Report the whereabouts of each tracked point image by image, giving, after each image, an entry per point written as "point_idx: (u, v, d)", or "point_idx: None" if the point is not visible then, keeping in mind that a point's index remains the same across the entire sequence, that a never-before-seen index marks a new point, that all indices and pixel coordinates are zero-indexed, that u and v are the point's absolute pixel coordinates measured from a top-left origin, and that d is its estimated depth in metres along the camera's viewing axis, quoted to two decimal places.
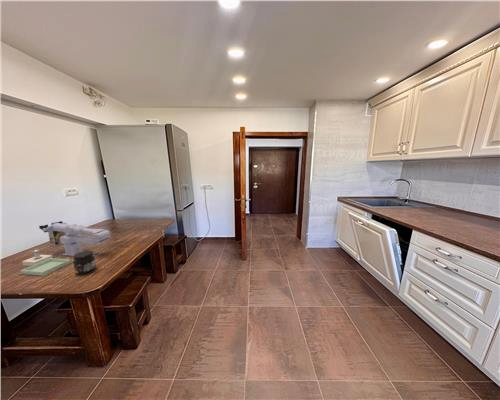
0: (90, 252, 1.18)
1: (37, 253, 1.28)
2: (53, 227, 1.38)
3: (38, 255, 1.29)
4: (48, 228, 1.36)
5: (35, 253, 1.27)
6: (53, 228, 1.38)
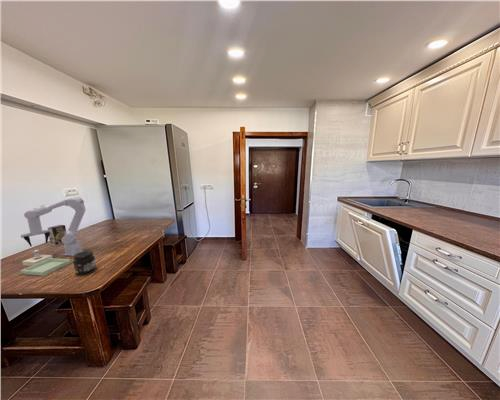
0: (90, 252, 1.18)
1: (37, 253, 1.28)
2: (30, 231, 1.31)
3: (38, 255, 1.29)
4: None
5: (35, 253, 1.27)
6: (30, 232, 1.30)
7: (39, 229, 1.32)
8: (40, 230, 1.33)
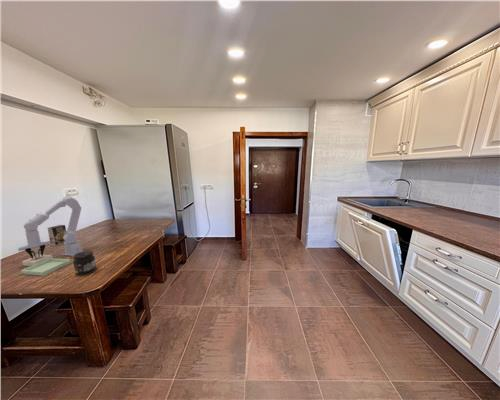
0: (90, 252, 1.18)
1: (37, 253, 1.28)
2: (28, 244, 1.25)
3: (38, 255, 1.29)
4: (23, 247, 1.24)
5: (35, 253, 1.27)
6: (28, 244, 1.25)
7: (37, 241, 1.27)
8: (38, 242, 1.27)
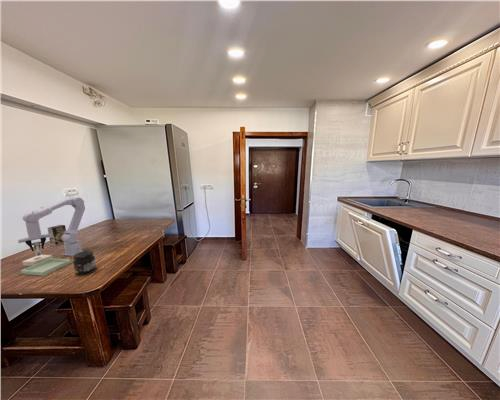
0: (90, 252, 1.18)
1: (37, 246, 1.25)
2: None
3: (38, 248, 1.25)
4: None
5: (36, 246, 1.24)
6: (28, 236, 1.22)
7: (38, 233, 1.23)
8: (39, 234, 1.24)
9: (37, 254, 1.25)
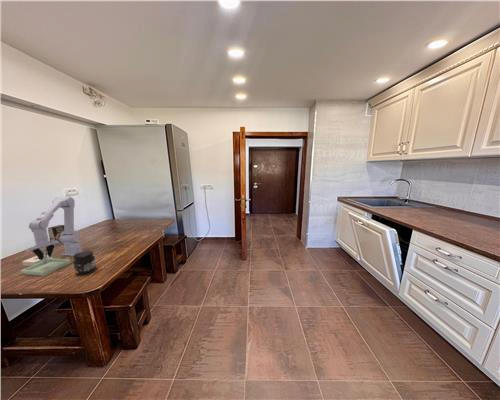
0: (90, 252, 1.18)
1: (45, 254, 1.20)
2: (36, 244, 1.16)
3: (46, 256, 1.21)
4: None
5: (44, 254, 1.19)
6: (36, 244, 1.16)
7: (47, 241, 1.19)
8: (48, 242, 1.20)
9: (44, 262, 1.20)
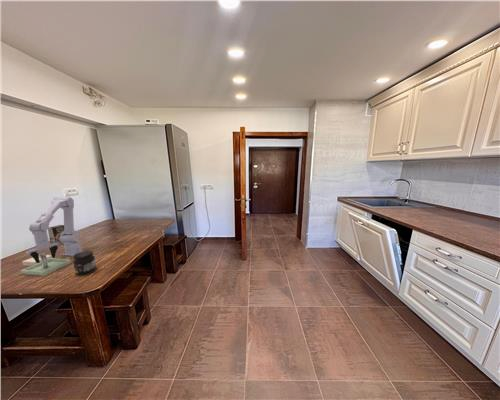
0: (90, 252, 1.18)
1: (45, 257, 1.21)
2: (36, 246, 1.17)
3: (46, 259, 1.22)
4: None
5: (43, 257, 1.20)
6: (37, 247, 1.16)
7: (47, 243, 1.19)
8: (48, 244, 1.20)
9: (45, 266, 1.21)
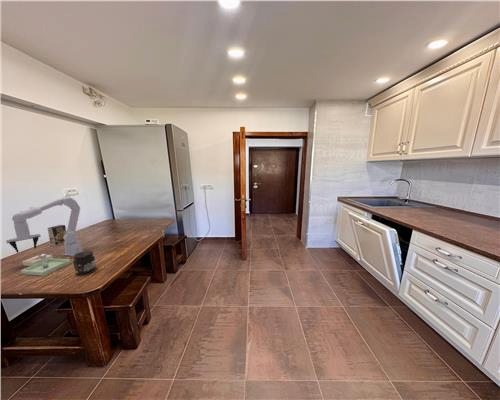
0: (90, 252, 1.18)
1: (45, 257, 1.21)
2: None
3: (46, 259, 1.21)
4: None
5: (43, 257, 1.20)
6: None
7: (26, 234, 1.23)
8: (28, 235, 1.24)
9: (45, 266, 1.21)
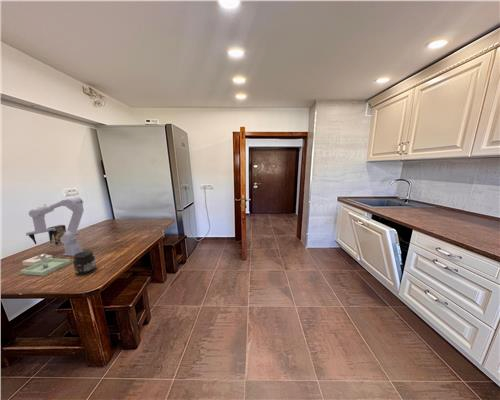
0: (90, 252, 1.18)
1: (44, 257, 1.20)
2: (35, 229, 1.35)
3: (45, 259, 1.21)
4: None
5: (43, 257, 1.20)
6: (35, 230, 1.35)
7: (43, 227, 1.36)
8: (44, 228, 1.37)
9: (45, 266, 1.21)
